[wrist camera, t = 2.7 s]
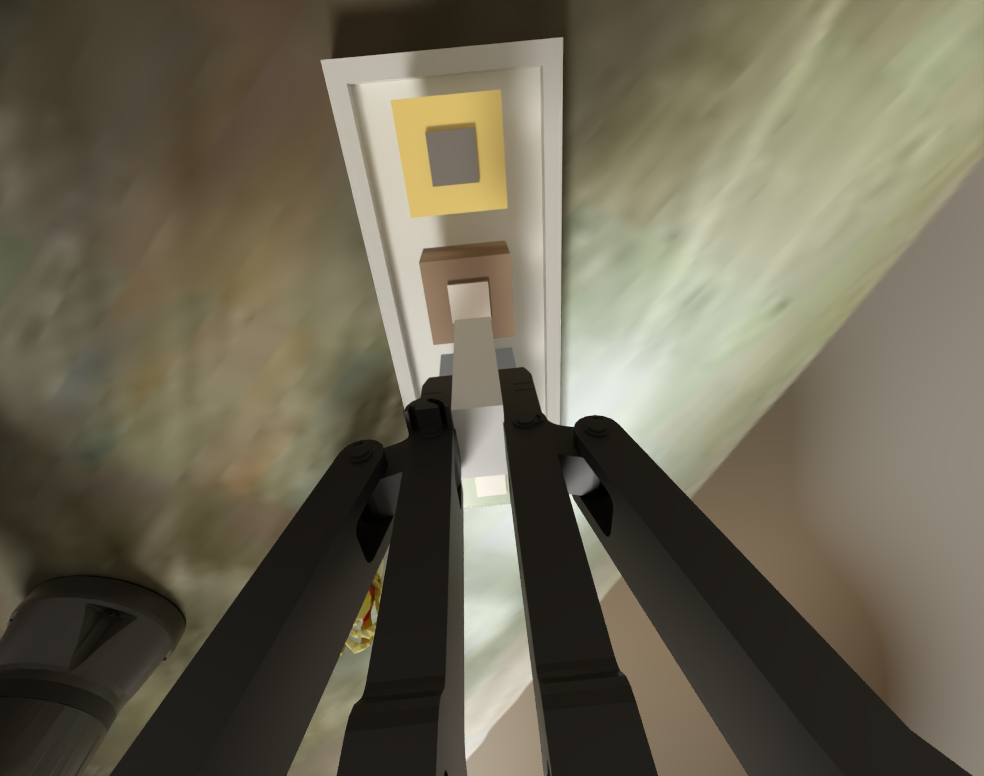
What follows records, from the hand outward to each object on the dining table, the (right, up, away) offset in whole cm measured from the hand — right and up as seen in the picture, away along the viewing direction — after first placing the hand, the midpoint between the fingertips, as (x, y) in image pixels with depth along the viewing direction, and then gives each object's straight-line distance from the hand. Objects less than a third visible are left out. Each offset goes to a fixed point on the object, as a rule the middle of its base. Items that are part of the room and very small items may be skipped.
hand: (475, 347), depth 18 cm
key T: (-1, +5, +8) cm, 9 cm away
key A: (-1, +10, +4) cm, 11 cm away
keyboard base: (-1, +3, +12) cm, 13 cm away
